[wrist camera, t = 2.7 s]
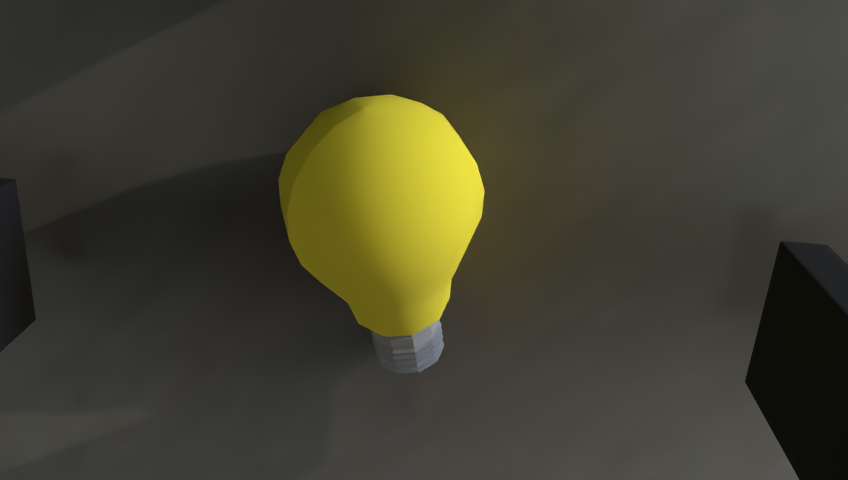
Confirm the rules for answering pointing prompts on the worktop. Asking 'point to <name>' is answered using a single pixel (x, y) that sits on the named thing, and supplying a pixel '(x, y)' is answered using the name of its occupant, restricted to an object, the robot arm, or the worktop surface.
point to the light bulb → (384, 217)
